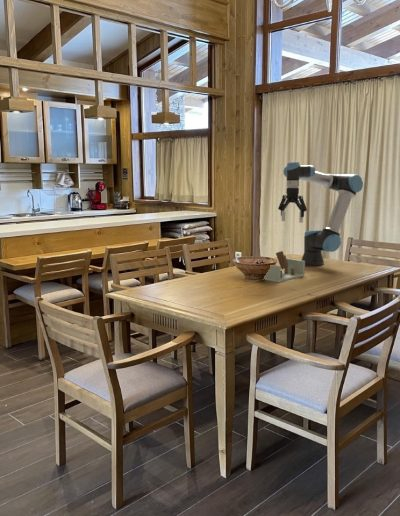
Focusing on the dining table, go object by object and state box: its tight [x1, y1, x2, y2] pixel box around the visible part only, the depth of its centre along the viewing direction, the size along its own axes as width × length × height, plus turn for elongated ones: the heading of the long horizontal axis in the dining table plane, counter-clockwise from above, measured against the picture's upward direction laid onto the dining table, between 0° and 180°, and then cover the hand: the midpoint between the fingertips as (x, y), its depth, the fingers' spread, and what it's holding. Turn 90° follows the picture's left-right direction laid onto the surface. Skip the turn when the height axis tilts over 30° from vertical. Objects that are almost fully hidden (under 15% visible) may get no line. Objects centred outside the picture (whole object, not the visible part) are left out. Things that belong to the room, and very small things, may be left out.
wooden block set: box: [275, 250, 288, 270], centre depth 295 cm, size 18×9×10 cm, turn 147°
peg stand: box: [263, 257, 306, 283], centre depth 294 cm, size 25×13×9 cm, turn 133°
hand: (292, 221), depth 306 cm, fingers open, 13 cm apart
